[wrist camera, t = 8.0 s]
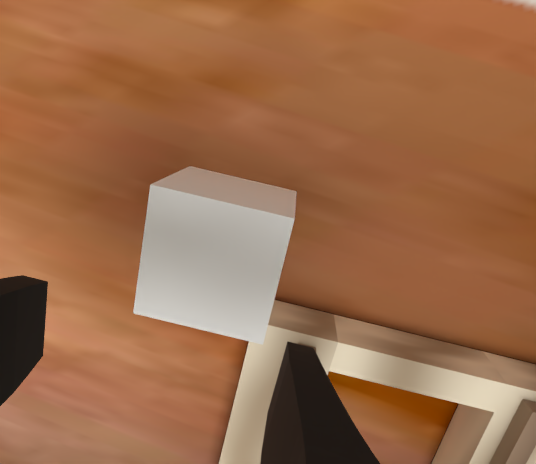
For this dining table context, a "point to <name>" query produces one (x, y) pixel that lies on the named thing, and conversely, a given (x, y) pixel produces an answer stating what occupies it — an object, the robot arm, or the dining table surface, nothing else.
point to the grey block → (214, 252)
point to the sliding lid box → (394, 384)
